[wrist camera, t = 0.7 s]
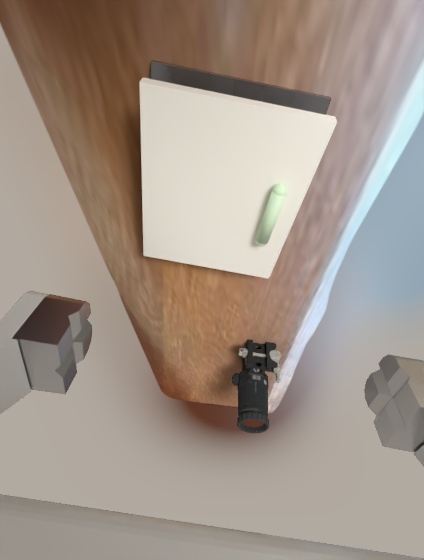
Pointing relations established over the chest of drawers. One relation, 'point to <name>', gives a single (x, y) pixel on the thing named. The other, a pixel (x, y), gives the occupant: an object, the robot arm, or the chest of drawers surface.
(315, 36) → the chest of drawers surface
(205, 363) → the chest of drawers surface
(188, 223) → the panel
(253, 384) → the scope
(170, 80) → the stage base
